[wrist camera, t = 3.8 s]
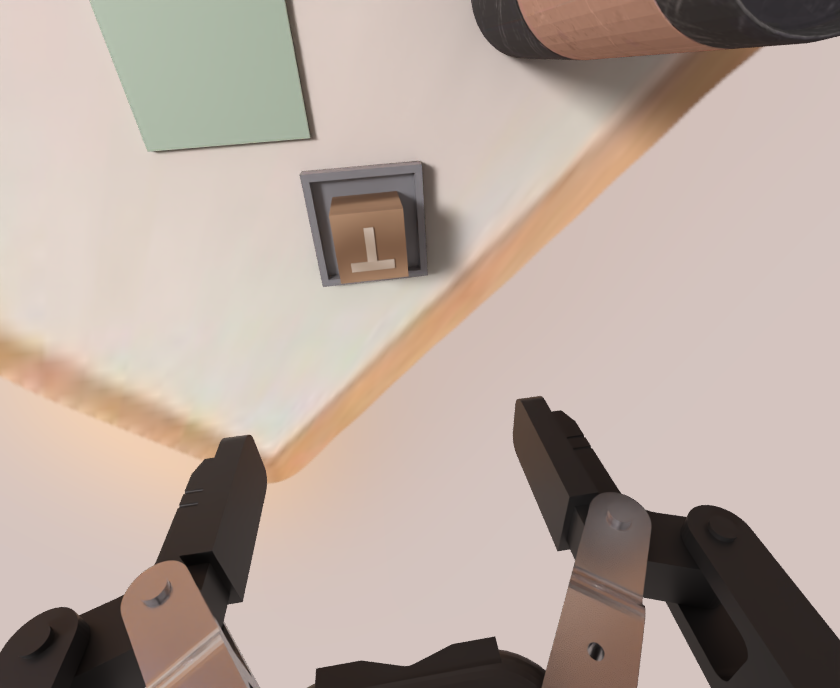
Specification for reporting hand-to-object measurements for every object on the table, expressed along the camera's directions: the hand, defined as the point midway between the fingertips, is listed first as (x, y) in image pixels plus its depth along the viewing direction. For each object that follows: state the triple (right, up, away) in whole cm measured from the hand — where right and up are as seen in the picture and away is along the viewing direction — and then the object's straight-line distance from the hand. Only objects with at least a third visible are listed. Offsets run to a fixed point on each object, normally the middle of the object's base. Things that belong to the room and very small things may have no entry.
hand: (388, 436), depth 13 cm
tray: (-3, +12, +18) cm, 21 cm away
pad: (-11, +20, +11) cm, 25 cm away
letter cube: (-3, +11, +17) cm, 21 cm away
